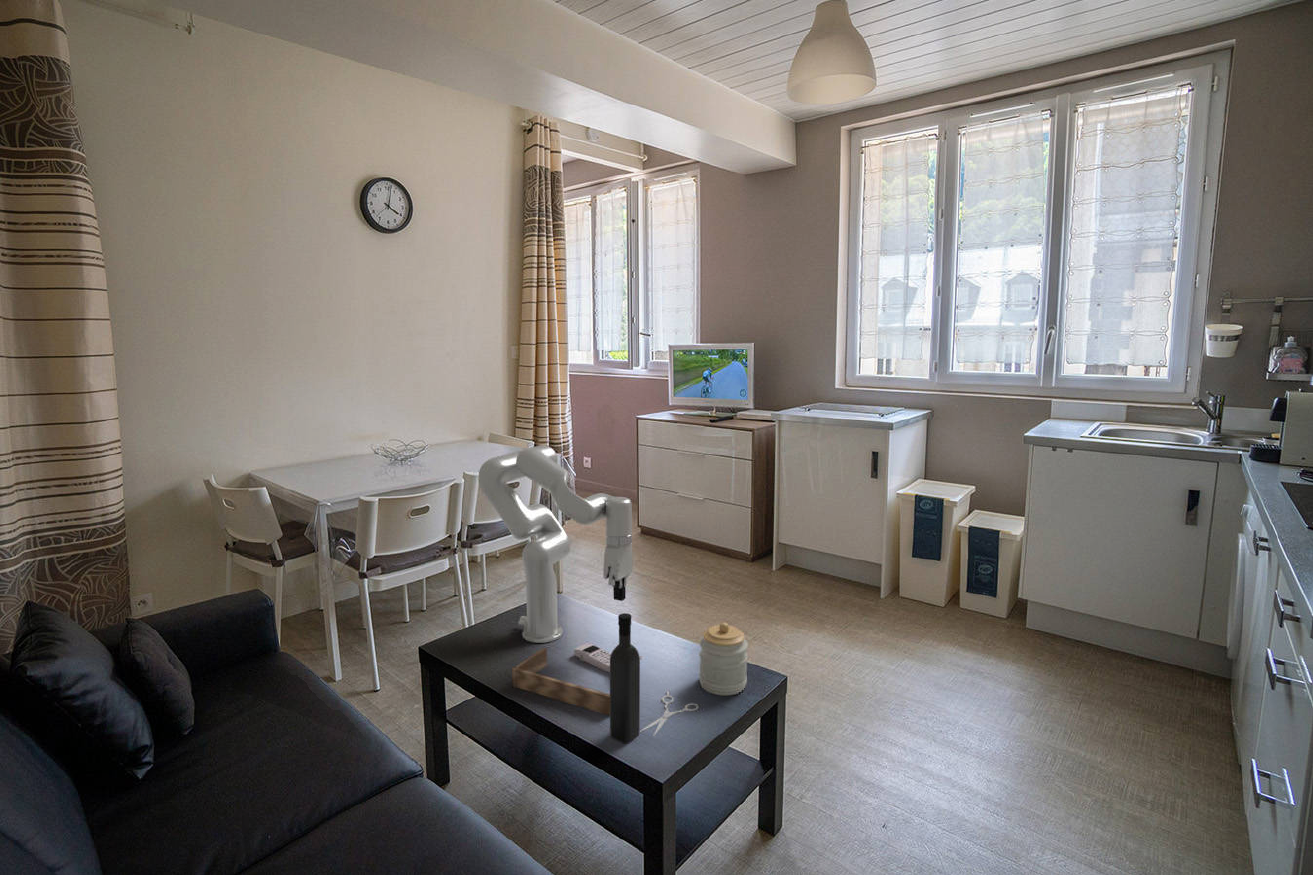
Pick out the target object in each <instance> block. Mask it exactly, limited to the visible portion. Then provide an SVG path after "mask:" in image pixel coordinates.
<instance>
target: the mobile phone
mask: <svg viewBox="0 0 1313 875" xmlns="http://www.w3.org/2000/svg"><path fill="white" fill-rule="evenodd" d="M573 652H574V656H576V658H578V659H579V660H580V661H581V662H583V661H584V662H586V663H587V664H590V665H591V666H594V667H595V668H598V669H600V670H602V671H604V672H607V673H609V674H610V656H611V652H609V651H606V650H604V649H602V648H601V647H599V646H597V645H594V644H591V643H584V644H582V645H580V646H577V647H575V648H574V651H573ZM639 657H640V660H642V659H643V656H642V655H641V656H639Z"/></svg>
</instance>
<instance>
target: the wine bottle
mask: <svg viewBox="0 0 1313 875" xmlns="http://www.w3.org/2000/svg"><path fill="white" fill-rule="evenodd" d="M617 618H618V624H617V625H618V644H617V645H616V647H614V649H613V650H611V652H610V654H611V656H610V673H609V694H610V715H609V736H610V737H611V738H612V739H615V740H617V741H619V742H622V743H623V744H624V743H625V744H628V743H630V742H631V741H633V739H635V738H636V737H637V736H639V734H640V733H641V732H640V731H641V730H640V718H641V716H640V714H641V713H640V708H641V706H640V702H641V700H640V699H641V696H640V691H641V689H640V688H641V683H640V682H641V681H640V680H641V674H640V673H641V668H640V666H641V661H640V660H641V659H640V657H641V656H640V654H639V653H640V652H639V651H638V649H637V648H636V647H635V646H634V645H632V642H631V641H632V640H631V639H632V636H631V635H632V632H631V631H632V630H631V628H632V615H631V614H630V613H620V614H619V615H617Z"/></svg>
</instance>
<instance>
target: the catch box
mask: <svg viewBox="0 0 1313 875" xmlns="http://www.w3.org/2000/svg"><path fill="white" fill-rule="evenodd" d="M547 652H548V650H547V648H546V647H542V649H540V650H538V651H537V652H535V653H534V654H532V655H530V656H529V657H528V658H526V659H525V660H523V661H522V662H520V663H519V664H518V665H516V666H514V667H513V668H512V669H511V670H512V671H511V672H512V687H515V688H518V689H521V690H523V691H528V692H530V693H535V694H538V695H540V696H544V697H547V698H551V699H553V700H558V701H561V702H565V703H567V704H571V705H574V706H577V707H581V708H584V709H586V710H591V711H593V710H594V711H593V712H597V713H600V714H603V715H607V716H610V693H606V692H602V691H598V690H595V689H592V688H588V687H585V686H582V685H578V684H574V683H571V682H569V681H568V682H567V681H564V680H562V679H561V680H560V679H557V678H554V677H551V676H546V675H543V674H539V673H537V672H539V671H540V670H541V669H542V670H543V668H544V667H546V666H547V665H548V664H547V662H548V661H547V660H548V659H547V658H548V656H547Z"/></svg>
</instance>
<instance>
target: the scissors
mask: <svg viewBox="0 0 1313 875" xmlns="http://www.w3.org/2000/svg"><path fill="white" fill-rule="evenodd" d="M667 698H670V701H666V700H665V699H667ZM674 700H675V699H674V697H673V696H672V695H670V692H669V691H666V695H664V696H663V697H661V702H662V703H663V704H664V708H665V711H664V713H663V715H662V716H661V717H659V718H657V719H656V720H654V721H653V722H652V723H650V724H648V725H646V727H644V728H642V729H641V730H640V732H639V733H641V732H643V731H644V730H647V729H649V728H651V727H653V726H655V725H657V724H658V725H657V728H656V729H655V732H654V734H653V736H652V738H654V737H655V736H656V734H657V733H658V732H659V730H660V729H661V728H662V727H663V725H664V724H665V722H666V721H667V720H668V718H670V717H673V716H675V715H676V714H679V713H680V714H682V713H683V712H693V711H696V710H698V709H699V705H698V704H697V703H695V702H694V703H692V702H691V703H687V704H686V705H684V708H683V709H681V710H677V711H670V710H669V708H668V706H669V705H670V704H673V703H674V702H675V701H674ZM690 706H695V708H694V709H693V708H688V707H690Z"/></svg>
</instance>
